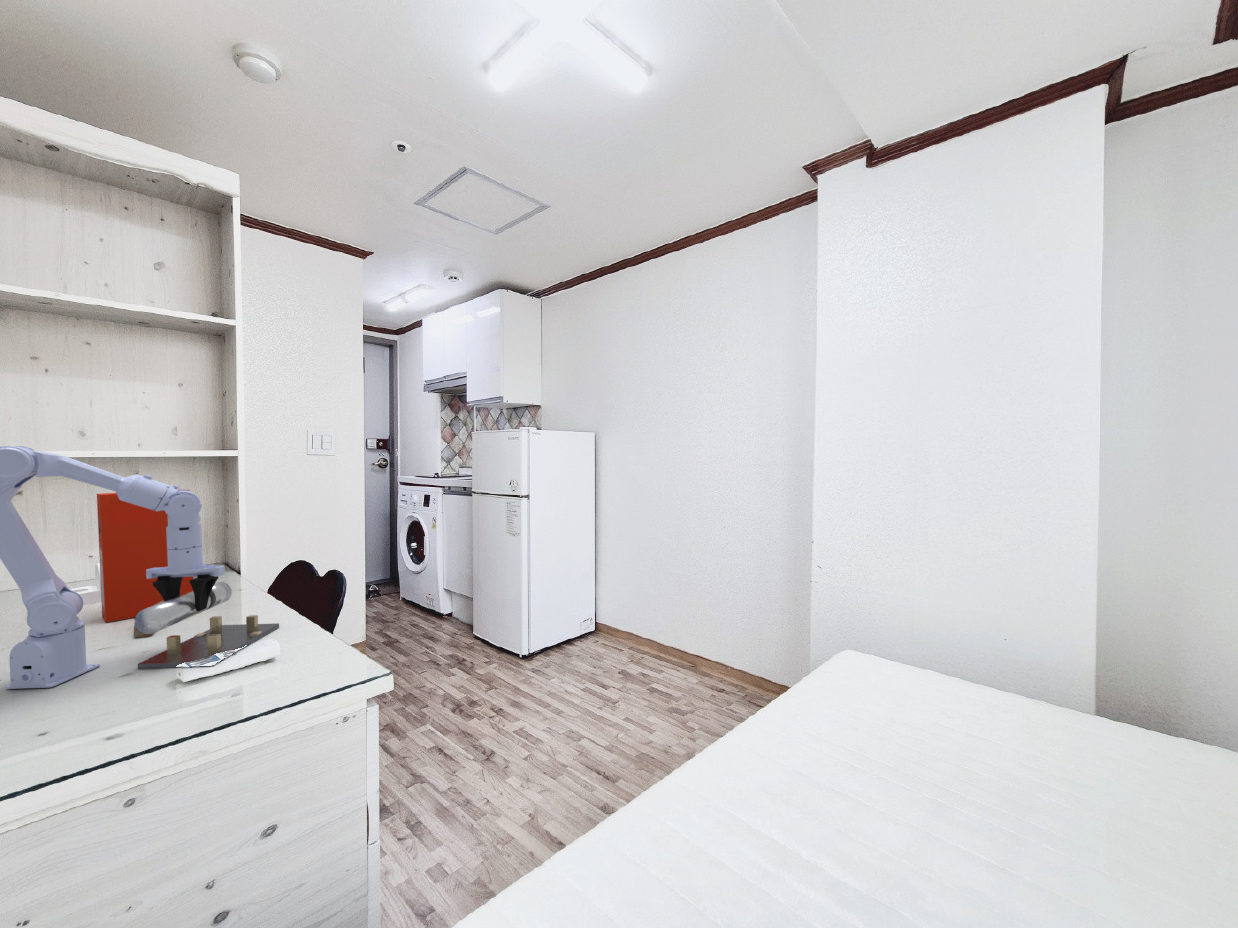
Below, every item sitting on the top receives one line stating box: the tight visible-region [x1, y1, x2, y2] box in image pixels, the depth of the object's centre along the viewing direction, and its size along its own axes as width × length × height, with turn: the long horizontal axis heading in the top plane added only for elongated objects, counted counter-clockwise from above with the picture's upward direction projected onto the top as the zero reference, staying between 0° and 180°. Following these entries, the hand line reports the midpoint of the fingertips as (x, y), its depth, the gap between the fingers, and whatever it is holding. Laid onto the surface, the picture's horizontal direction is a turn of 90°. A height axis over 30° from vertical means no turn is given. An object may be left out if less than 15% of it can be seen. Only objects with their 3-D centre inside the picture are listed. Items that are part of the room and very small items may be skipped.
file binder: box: [96, 488, 193, 624], centre depth 136 cm, size 8×17×32 cm, turn 140°
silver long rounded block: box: [134, 581, 233, 635], centre depth 110 cm, size 20×5×6 cm, turn 4°
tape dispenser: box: [70, 562, 102, 606], centre depth 150 cm, size 10×18×11 cm, turn 141°
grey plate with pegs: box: [137, 614, 280, 670], centre depth 112 cm, size 22×14×4 cm, turn 3°
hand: (187, 610), depth 110 cm, fingers closed on silver long rounded block, 5 cm apart
